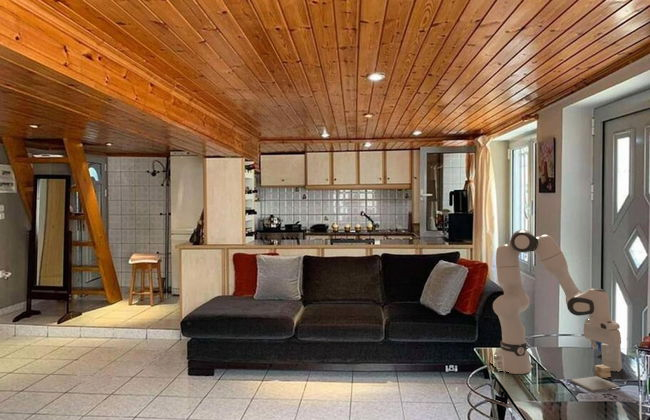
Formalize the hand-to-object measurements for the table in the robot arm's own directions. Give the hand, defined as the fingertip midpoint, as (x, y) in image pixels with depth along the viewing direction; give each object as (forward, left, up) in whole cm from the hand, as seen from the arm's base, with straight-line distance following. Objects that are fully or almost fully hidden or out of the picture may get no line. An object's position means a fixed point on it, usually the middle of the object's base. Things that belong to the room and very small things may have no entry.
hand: (602, 351), depth 228 cm
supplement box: (-8, +12, -12) cm, 19 cm away
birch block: (0, 0, -12) cm, 12 cm away
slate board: (+8, -11, -12) cm, 18 cm away
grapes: (-27, +25, -12) cm, 39 cm away
